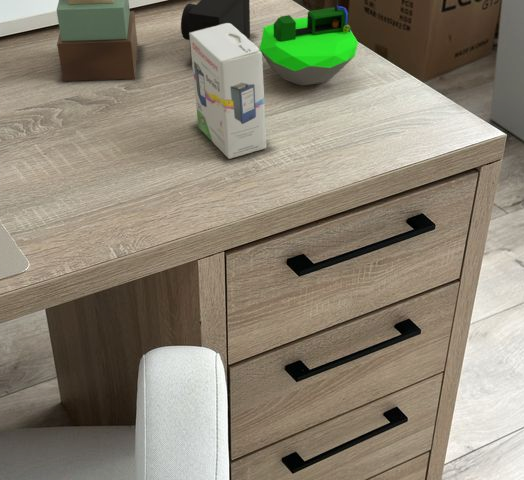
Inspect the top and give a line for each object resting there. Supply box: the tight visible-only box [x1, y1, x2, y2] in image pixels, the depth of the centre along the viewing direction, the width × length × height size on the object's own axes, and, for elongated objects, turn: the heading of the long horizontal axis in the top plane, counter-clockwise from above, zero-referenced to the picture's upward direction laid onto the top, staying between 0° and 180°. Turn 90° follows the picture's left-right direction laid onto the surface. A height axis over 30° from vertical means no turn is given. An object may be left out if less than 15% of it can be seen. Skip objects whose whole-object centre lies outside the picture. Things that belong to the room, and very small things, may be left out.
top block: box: [56, 0, 131, 41], centre depth 118 cm, size 8×8×4 cm
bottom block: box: [56, 10, 139, 82], centre depth 121 cm, size 9×9×5 cm
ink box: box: [189, 23, 267, 160], centre depth 105 cm, size 9×5×12 cm, turn 27°
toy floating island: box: [259, 0, 359, 86], centre depth 116 cm, size 12×12×11 cm
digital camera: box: [180, 0, 251, 65], centre depth 123 cm, size 10×5×7 cm, turn 160°
